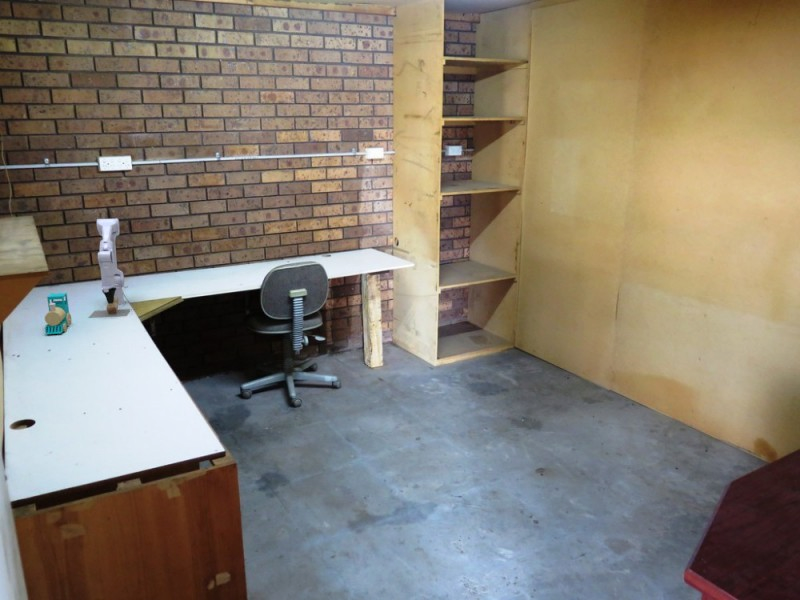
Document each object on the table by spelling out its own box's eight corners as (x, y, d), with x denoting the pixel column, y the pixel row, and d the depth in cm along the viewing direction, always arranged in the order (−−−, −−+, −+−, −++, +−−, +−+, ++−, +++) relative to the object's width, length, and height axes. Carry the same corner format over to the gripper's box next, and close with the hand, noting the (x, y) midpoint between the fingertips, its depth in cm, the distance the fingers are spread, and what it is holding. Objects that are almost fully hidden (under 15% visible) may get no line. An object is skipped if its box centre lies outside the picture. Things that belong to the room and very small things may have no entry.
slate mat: (94, 311, 304) (94, 310, 304) (131, 310, 308) (131, 309, 308) (88, 318, 292) (88, 317, 292) (126, 317, 296) (126, 316, 296)
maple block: (108, 313, 300) (110, 302, 305) (117, 313, 300) (118, 301, 306) (106, 307, 297) (108, 296, 302) (115, 307, 298) (117, 296, 303)
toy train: (43, 336, 266) (38, 302, 262) (53, 325, 281) (49, 293, 278) (63, 335, 268) (59, 301, 264) (72, 324, 283) (68, 292, 280)
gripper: (113, 278, 288) (116, 306, 291) (119, 272, 302) (122, 299, 305) (97, 279, 287) (100, 307, 290) (104, 272, 300) (107, 299, 304)
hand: (110, 303), depth 297 cm, fingers closed
